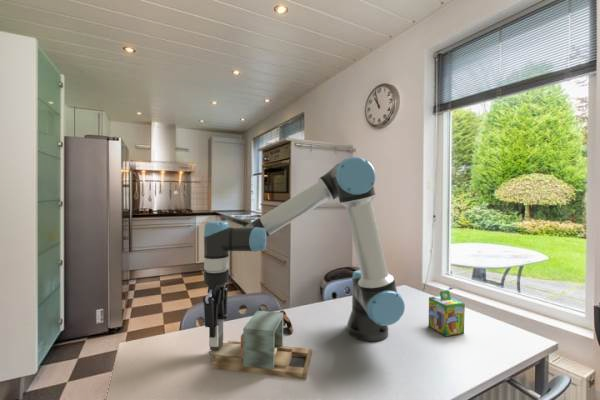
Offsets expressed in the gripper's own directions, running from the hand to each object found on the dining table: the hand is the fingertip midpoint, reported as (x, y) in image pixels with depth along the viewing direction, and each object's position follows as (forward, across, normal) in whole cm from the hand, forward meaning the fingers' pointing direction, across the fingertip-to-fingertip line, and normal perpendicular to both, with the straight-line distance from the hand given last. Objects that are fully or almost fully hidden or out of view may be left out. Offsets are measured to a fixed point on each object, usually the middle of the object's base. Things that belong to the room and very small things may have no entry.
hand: (216, 342), depth 90 cm
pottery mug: (+4, -20, +16) cm, 26 cm away
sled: (+2, 0, +9) cm, 9 cm away
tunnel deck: (+4, 0, +16) cm, 16 cm away
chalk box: (+5, -32, +79) cm, 85 cm away
